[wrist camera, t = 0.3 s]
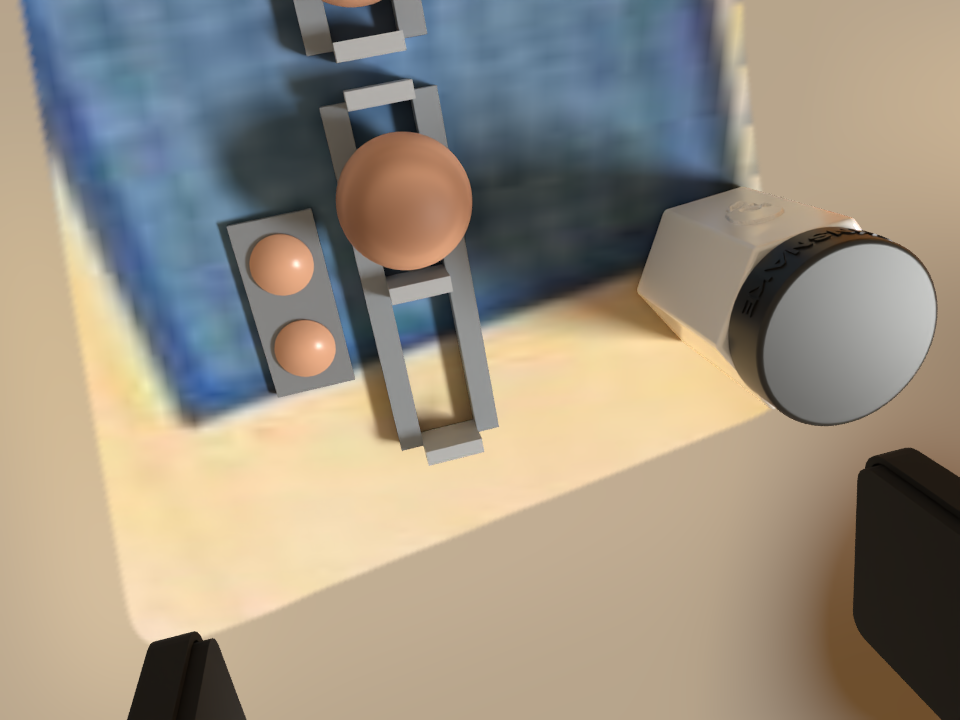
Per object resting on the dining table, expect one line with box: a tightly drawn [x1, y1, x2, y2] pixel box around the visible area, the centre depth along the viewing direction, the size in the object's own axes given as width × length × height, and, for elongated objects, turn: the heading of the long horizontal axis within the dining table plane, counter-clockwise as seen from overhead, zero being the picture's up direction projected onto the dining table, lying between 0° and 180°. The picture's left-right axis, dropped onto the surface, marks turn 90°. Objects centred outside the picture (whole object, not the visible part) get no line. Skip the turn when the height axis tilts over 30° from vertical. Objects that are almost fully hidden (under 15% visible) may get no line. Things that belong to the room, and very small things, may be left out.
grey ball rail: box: [293, 0, 499, 466], centre depth 34 cm, size 39×5×2 cm, turn 10°
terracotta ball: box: [336, 132, 472, 270], centre depth 34 cm, size 6×6×6 cm
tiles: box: [227, 208, 355, 397], centre depth 34 cm, size 29×4×1 cm, turn 10°
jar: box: [637, 187, 937, 426], centre depth 37 cm, size 9×8×12 cm
